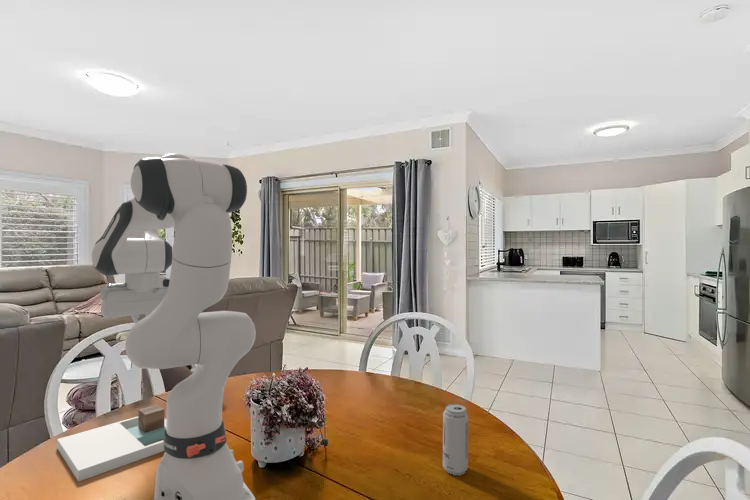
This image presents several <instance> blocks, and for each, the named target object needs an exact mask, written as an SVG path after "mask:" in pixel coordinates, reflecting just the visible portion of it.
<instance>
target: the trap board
mask: <svg viewBox="0 0 750 500" xmlns="http://www.w3.org/2000/svg"><path fill="white" fill-rule="evenodd" d="M166 424H167V418H165V417H164V427H162V428H159V429H156V430H153V431H149V432H146V433H145V432H143V431H142V430H141V429H140V428H139V427H138V416H135V417H130V418H127V419H123V420H120V421H116V422H113V423H109V424H106V425H103V426H102V425H101V426H99V427H95V428H93V429H92V428H91V429H88V430H85V431H81V432H78V433H75V434H71V435H68V436H63V437H59V438H57V440H56V441H57V444H56V448H57V450H58V452H59V453H60V455H61V456H62V458H63V460H64V461H65V463H66V465H67V466H68V468H69V469H70V471H71V472H72V474H73V476H74V477H75V479H76V480H77V482H81V481H84V480H87V479H89V478H92V477H95V476H98V475H101V474H104V473H107V472H109V471H112V470H115V469H118V468H121V467H124V466H126V465H129V464H132V463H134V462H138V461H140V460H143V459H145V458H149V457H151V456H154V455H157V454H160V453H162V452H165V450H164V443H163V438H164V432H165V430H166Z"/></svg>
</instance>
